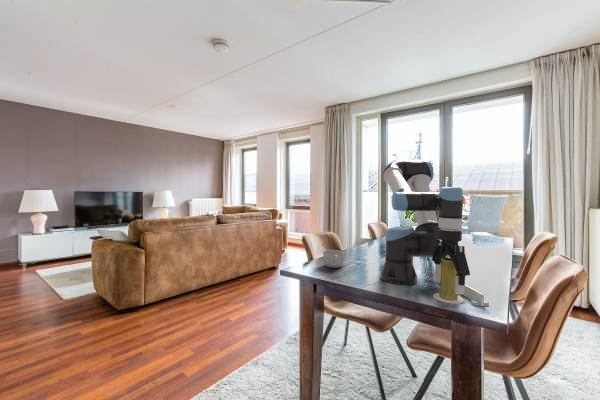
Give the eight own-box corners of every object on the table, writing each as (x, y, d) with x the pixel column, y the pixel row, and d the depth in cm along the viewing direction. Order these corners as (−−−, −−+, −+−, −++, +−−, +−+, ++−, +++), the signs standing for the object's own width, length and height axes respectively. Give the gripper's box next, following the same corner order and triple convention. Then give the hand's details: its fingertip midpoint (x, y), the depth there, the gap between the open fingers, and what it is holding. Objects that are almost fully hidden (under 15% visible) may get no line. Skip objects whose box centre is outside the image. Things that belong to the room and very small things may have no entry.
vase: (435, 295, 105) (436, 257, 104) (449, 293, 106) (450, 256, 105) (447, 301, 99) (448, 261, 98) (461, 300, 100) (462, 260, 99)
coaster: (442, 304, 97) (442, 303, 97) (428, 293, 107) (428, 292, 107) (470, 303, 97) (470, 303, 97) (453, 293, 107) (453, 292, 107)
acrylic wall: (475, 306, 95) (475, 294, 95) (436, 281, 121) (436, 272, 121) (489, 306, 95) (490, 294, 95) (447, 281, 121) (447, 272, 121)
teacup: (323, 263, 151) (323, 248, 150) (344, 264, 149) (344, 249, 149) (322, 270, 137) (322, 254, 137) (344, 271, 135) (344, 255, 135)
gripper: (483, 234, 89) (481, 300, 90) (441, 225, 114) (440, 276, 115) (460, 234, 89) (458, 300, 89) (423, 225, 114) (422, 276, 114)
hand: (448, 287), depth 102 cm, fingers open, 13 cm apart
